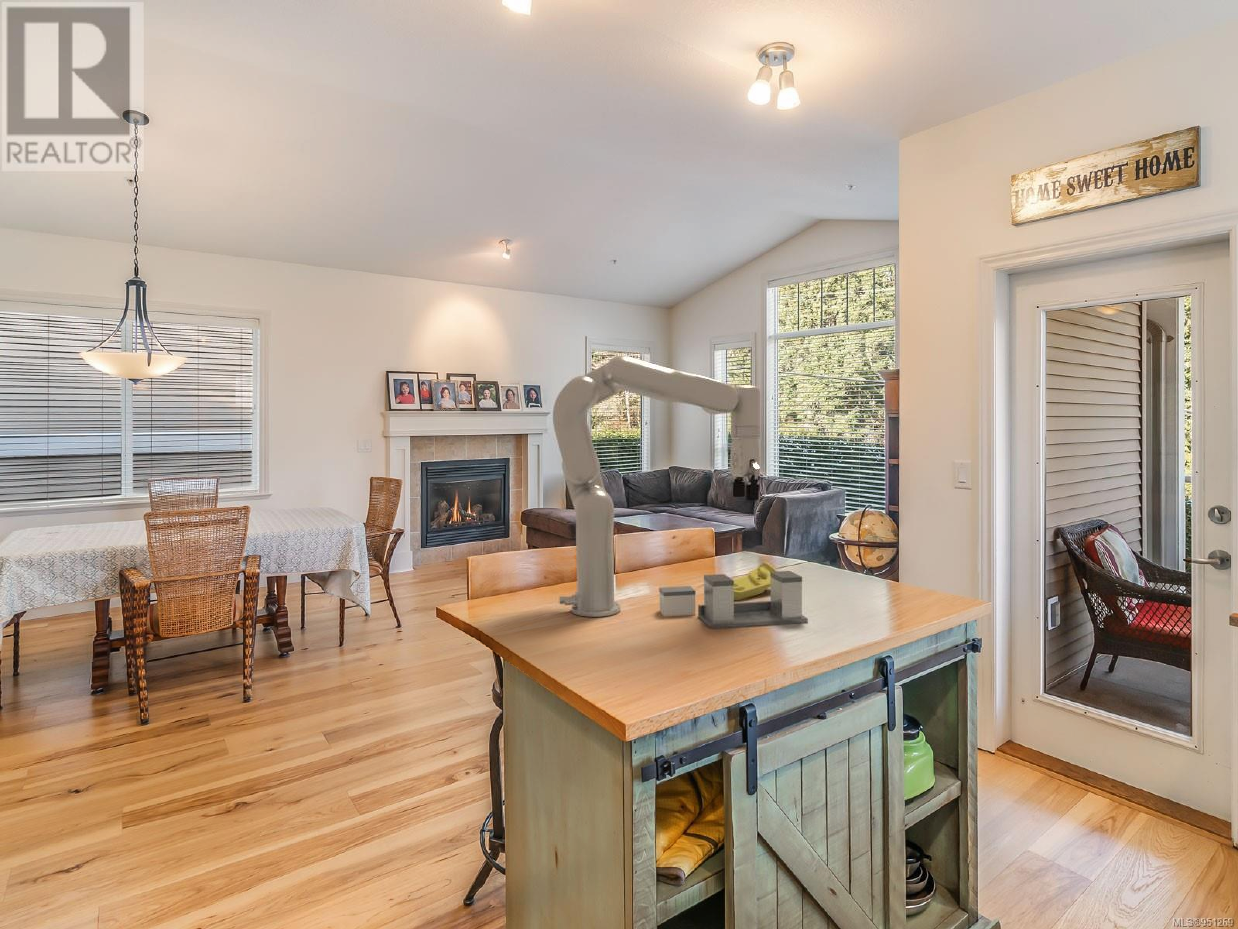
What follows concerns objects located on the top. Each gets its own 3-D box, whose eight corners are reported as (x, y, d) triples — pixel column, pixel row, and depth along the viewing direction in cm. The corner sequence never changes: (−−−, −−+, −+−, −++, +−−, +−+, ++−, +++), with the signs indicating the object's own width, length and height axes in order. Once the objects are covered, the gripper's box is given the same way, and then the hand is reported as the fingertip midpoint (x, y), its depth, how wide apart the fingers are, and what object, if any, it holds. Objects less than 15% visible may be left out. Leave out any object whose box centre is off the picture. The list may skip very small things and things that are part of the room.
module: (664, 616, 164) (663, 592, 164) (659, 611, 169) (659, 587, 169) (695, 614, 165) (695, 590, 165) (690, 609, 170) (689, 586, 170)
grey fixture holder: (710, 628, 153) (710, 582, 152) (698, 617, 163) (697, 573, 162) (807, 622, 157) (807, 577, 156) (789, 611, 167) (789, 569, 166)
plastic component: (735, 594, 176) (712, 572, 183) (729, 615, 180) (706, 593, 187) (787, 578, 187) (762, 558, 194) (779, 599, 190) (756, 578, 198)
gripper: (720, 433, 181) (721, 495, 181) (743, 433, 164) (743, 502, 164) (747, 433, 182) (746, 495, 183) (772, 433, 165) (771, 501, 166)
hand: (745, 498), depth 174 cm, fingers open, 9 cm apart
